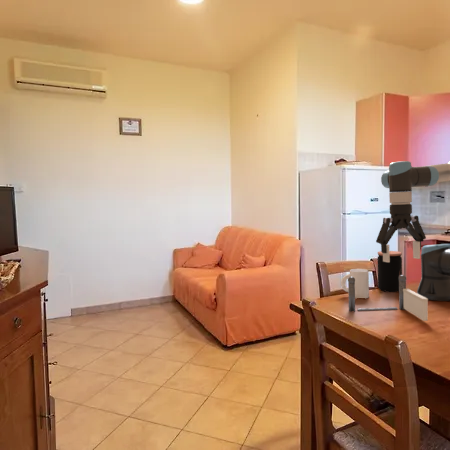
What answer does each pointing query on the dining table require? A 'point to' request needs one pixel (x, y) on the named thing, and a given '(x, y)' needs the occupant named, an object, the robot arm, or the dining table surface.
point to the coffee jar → (389, 271)
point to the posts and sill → (352, 308)
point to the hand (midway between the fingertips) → (401, 260)
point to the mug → (358, 282)
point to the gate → (416, 304)
